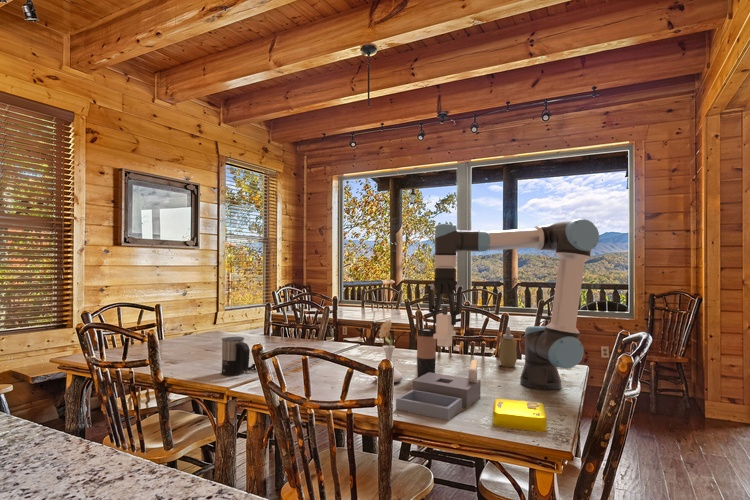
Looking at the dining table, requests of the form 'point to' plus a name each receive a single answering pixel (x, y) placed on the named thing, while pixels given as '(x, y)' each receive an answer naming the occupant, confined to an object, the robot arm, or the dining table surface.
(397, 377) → the flower in vase
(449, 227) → the robot arm
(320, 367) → the dining table surface
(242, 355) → the milk frother
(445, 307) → the plug
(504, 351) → the squeeze bottle
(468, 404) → the socket block
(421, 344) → the travel mug
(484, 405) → the dining table surface
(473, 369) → the clip
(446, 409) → the tray
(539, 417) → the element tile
